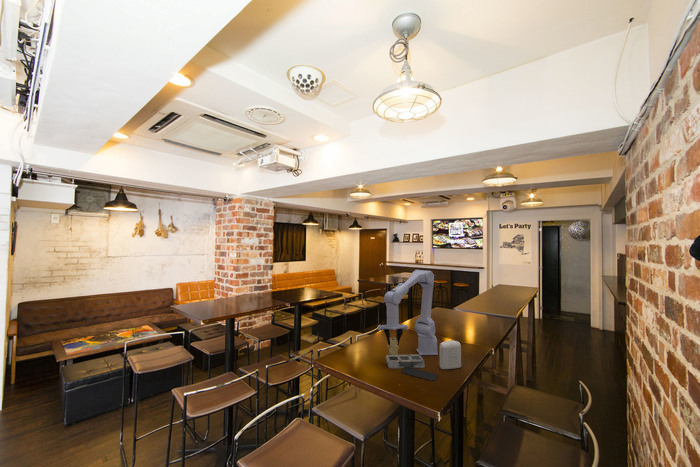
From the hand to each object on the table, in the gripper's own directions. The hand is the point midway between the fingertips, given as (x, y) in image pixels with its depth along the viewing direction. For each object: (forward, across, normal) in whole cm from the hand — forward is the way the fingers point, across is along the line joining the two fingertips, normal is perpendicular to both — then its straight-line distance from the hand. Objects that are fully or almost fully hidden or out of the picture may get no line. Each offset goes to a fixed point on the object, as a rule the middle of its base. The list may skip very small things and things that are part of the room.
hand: (393, 344), depth 136 cm
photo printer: (+10, +26, -4) cm, 28 cm away
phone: (+10, +10, -10) cm, 17 cm away
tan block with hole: (+4, 0, 0) cm, 4 cm away
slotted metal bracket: (+10, +6, 0) cm, 11 cm away
